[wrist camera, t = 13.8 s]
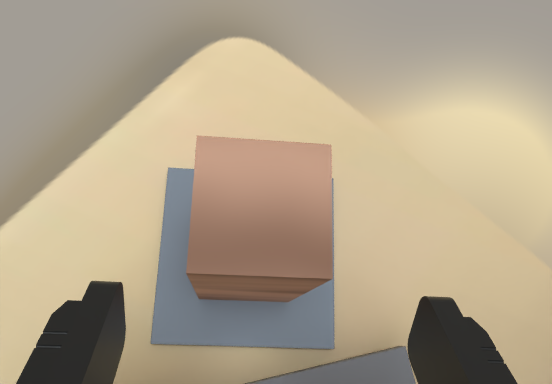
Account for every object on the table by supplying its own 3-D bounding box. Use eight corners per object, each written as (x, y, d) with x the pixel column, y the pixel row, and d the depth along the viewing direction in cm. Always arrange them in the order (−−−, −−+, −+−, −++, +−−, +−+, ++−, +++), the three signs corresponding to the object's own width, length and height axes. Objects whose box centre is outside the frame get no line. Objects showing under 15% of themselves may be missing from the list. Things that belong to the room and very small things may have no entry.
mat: (169, 170, 26) (168, 167, 26) (331, 181, 27) (333, 178, 27) (152, 343, 24) (150, 343, 23) (332, 348, 25) (334, 348, 24)
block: (205, 211, 25) (196, 135, 16) (289, 216, 26) (331, 144, 16) (198, 299, 24) (186, 273, 15) (288, 302, 24) (332, 278, 15)
